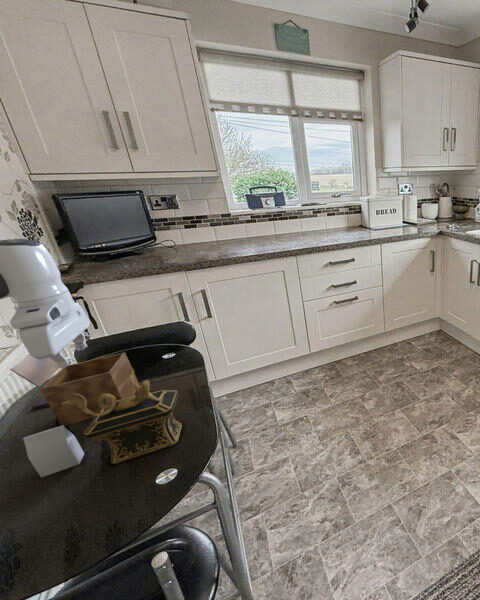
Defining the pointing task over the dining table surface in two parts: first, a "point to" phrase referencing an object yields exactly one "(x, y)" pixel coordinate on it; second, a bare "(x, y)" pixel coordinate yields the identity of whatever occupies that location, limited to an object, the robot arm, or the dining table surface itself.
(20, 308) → the robot arm
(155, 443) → the decorative box
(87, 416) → the carton
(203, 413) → the dining table surface
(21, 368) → the flap
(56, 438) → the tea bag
